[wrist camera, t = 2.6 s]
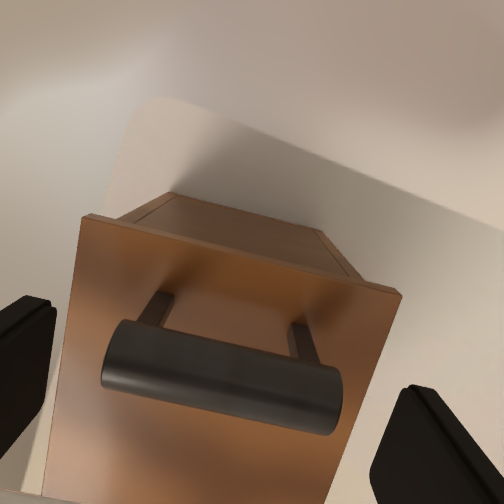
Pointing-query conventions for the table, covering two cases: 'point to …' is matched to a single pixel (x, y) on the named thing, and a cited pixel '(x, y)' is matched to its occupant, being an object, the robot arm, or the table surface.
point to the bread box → (242, 232)
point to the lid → (206, 372)
